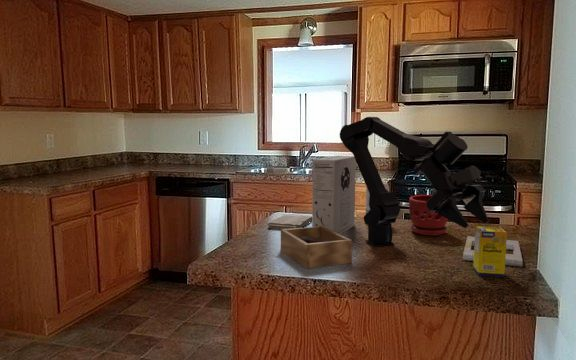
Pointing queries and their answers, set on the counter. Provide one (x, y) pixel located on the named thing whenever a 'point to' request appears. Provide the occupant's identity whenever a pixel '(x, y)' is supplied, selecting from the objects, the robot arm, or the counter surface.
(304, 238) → the brick
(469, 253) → the plate
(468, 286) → the counter surface
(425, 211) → the plant pot
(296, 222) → the washcloth
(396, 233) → the counter surface
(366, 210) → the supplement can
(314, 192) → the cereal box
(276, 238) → the counter surface
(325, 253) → the oak box
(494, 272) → the supplement box
